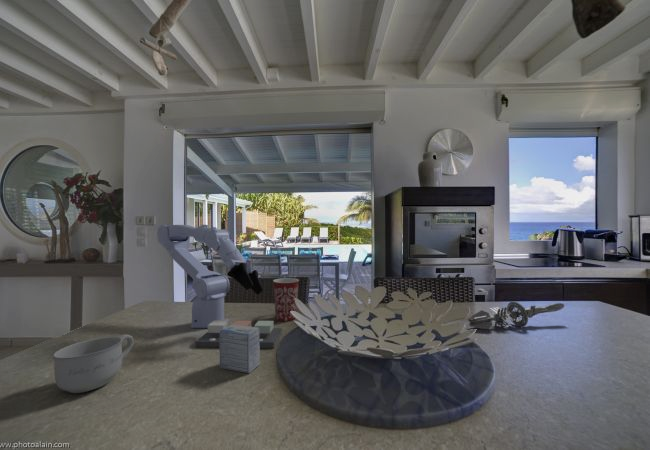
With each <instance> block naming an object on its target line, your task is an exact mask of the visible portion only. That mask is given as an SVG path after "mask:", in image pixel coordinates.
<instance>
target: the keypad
mask: <svg viewBox="0 0 650 450" xmlns="http://www.w3.org/2000/svg"><path fill="white" fill-rule="evenodd" d="M282 330H283V328H282V327H274V328H273V329H272V331H271V333H259V344H260V349H275V347H276V345H277V344H278V342H279V339H280V338H281V335H282V334H283V331H282ZM194 344H195V348H215V349H216V348H219V349H220V333H208V331H207V332H205V334H203V335H202V336H201V337H199V338H198V339H197V340H196V341H195V343H194Z"/></svg>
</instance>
